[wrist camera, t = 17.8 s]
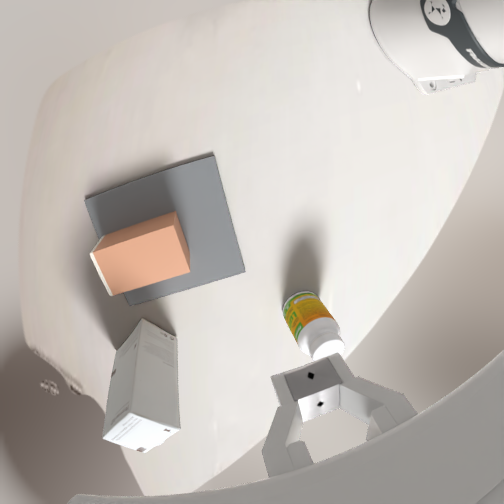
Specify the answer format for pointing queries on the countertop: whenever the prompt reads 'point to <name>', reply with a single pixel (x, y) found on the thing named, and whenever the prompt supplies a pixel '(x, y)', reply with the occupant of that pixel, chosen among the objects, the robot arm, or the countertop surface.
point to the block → (142, 254)
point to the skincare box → (143, 390)
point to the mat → (190, 217)
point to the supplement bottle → (312, 325)
